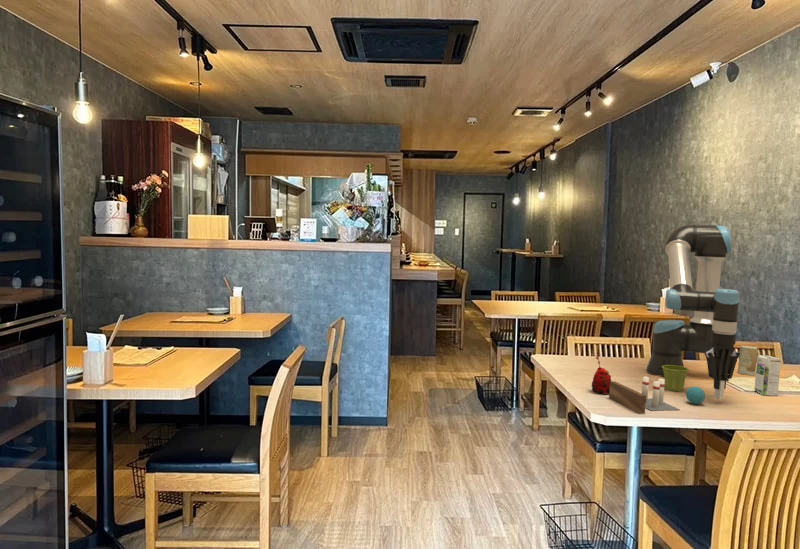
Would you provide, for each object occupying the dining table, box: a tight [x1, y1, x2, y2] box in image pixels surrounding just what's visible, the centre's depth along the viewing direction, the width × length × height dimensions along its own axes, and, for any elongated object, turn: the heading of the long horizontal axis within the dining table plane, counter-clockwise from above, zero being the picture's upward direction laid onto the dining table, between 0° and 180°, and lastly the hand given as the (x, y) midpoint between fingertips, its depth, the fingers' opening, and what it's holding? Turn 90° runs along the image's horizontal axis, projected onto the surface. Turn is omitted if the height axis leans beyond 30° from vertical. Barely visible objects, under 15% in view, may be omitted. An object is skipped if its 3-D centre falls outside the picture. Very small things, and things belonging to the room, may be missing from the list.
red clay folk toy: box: [591, 352, 612, 395], centre depth 208 cm, size 8×7×15 cm
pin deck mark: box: [645, 397, 681, 412], centre depth 195 cm, size 11×13×1 cm
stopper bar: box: [608, 380, 646, 415], centre depth 193 cm, size 2×18×6 cm, turn 11°
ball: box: [685, 386, 706, 405], centre depth 198 cm, size 6×6×6 cm
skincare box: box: [737, 345, 758, 377], centre depth 248 cm, size 6×4×12 cm
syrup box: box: [753, 354, 782, 397], centre depth 215 cm, size 6×6×14 cm
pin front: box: [657, 378, 665, 405], centre depth 195 cm, size 2×2×9 cm
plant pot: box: [662, 365, 690, 392], centre depth 216 cm, size 9×9×9 cm
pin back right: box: [641, 375, 650, 402], centre depth 197 cm, size 2×2×9 cm
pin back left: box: [651, 380, 660, 408], centre depth 191 cm, size 2×2×9 cm
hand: (718, 397), depth 200 cm, fingers closed
